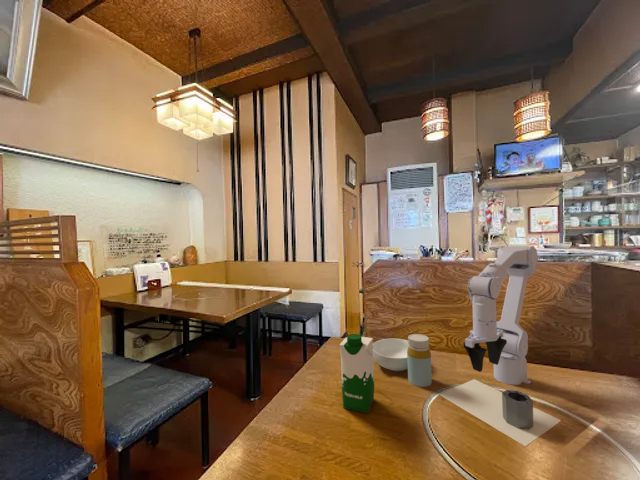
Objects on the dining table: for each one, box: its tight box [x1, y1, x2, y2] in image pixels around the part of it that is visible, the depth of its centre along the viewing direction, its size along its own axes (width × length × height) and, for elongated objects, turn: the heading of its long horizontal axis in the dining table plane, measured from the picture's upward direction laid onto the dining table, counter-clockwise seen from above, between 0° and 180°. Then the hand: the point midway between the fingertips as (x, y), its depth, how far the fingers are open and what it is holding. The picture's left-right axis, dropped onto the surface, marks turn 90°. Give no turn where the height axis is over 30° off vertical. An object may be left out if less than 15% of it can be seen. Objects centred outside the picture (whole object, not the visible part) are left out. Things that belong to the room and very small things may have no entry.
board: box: [438, 378, 562, 447], centre depth 72 cm, size 16×22×1 cm
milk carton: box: [339, 333, 375, 414], centre depth 77 cm, size 9×9×20 cm
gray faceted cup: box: [502, 389, 534, 430], centre depth 66 cm, size 6×6×6 cm
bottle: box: [407, 333, 433, 388], centre depth 85 cm, size 7×7×15 cm
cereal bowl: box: [373, 337, 409, 372], centre depth 98 cm, size 17×17×7 cm
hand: (485, 366), depth 76 cm, fingers open, 7 cm apart
